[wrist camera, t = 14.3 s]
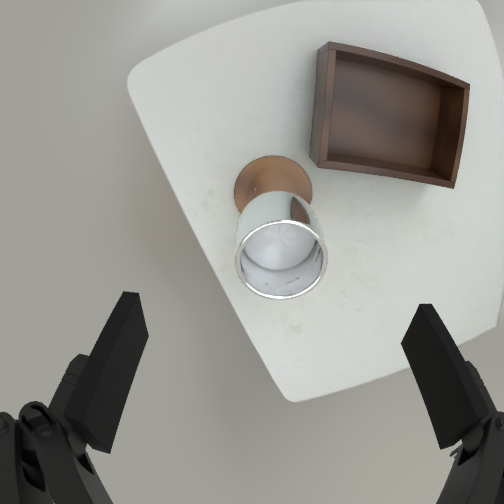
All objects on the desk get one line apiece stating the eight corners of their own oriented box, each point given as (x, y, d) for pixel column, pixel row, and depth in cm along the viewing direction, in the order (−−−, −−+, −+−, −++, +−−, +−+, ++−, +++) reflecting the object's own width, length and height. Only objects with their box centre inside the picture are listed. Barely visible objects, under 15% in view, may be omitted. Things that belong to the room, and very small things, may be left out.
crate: (317, 49, 26) (328, 41, 21) (445, 82, 26) (470, 84, 21) (308, 156, 32) (317, 167, 27) (431, 175, 32) (454, 189, 27)
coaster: (235, 153, 32) (235, 154, 32) (315, 159, 32) (316, 160, 32) (233, 226, 36) (233, 227, 36) (306, 230, 37) (307, 232, 36)
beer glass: (301, 163, 32) (331, 213, 19) (304, 220, 35) (329, 298, 22) (239, 168, 32) (225, 222, 19) (246, 224, 36) (239, 305, 23)
